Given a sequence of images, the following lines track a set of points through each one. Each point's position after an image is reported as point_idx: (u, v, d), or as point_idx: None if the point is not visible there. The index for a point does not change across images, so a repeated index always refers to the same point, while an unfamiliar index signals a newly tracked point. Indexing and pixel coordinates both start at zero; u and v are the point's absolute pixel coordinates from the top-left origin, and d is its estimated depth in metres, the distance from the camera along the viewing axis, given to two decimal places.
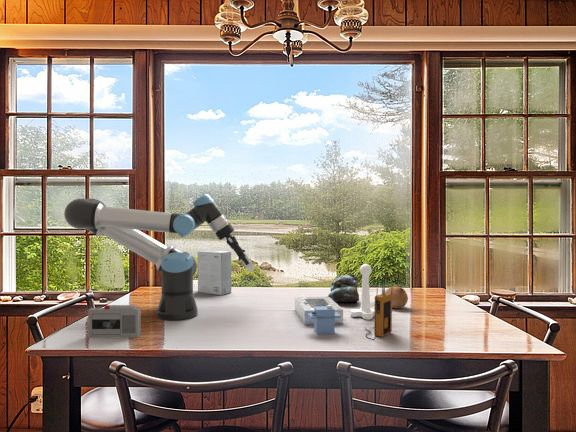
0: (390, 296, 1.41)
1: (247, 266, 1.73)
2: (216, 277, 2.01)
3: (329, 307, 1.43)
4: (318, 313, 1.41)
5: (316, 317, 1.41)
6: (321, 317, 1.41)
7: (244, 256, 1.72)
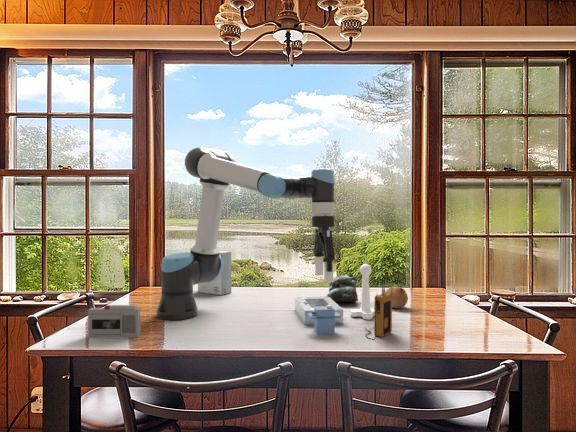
0: (390, 296, 1.41)
1: (327, 273, 1.37)
2: None
3: (329, 307, 1.43)
4: (318, 313, 1.41)
5: (316, 317, 1.41)
6: (321, 317, 1.41)
7: (332, 260, 1.36)
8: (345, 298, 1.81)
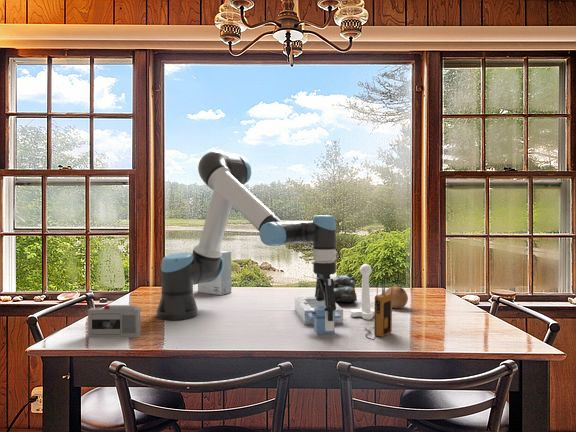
0: (390, 296, 1.41)
1: (327, 322, 1.36)
2: None
3: None
4: (318, 313, 1.41)
5: (316, 317, 1.41)
6: (321, 317, 1.41)
7: (333, 310, 1.35)
8: (344, 298, 1.81)
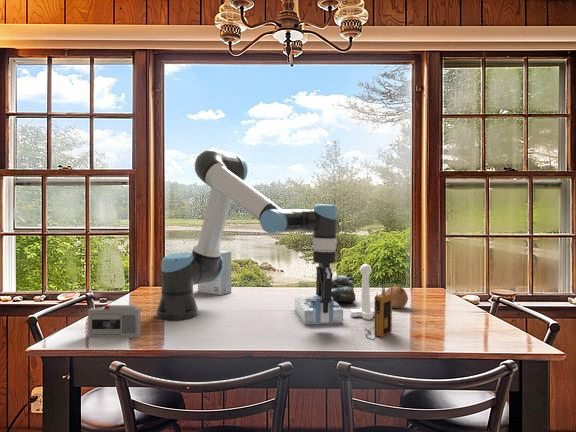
0: (390, 296, 1.41)
1: (323, 314, 1.41)
2: None
3: None
4: (317, 302, 1.41)
5: (315, 306, 1.41)
6: (320, 306, 1.41)
7: (328, 302, 1.40)
8: (343, 298, 1.81)
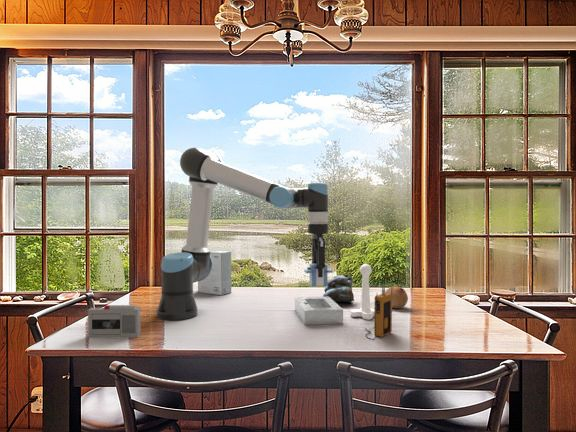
0: (390, 296, 1.41)
1: (318, 278, 1.60)
2: (216, 277, 2.01)
3: None
4: (313, 268, 1.60)
5: (311, 271, 1.60)
6: (315, 271, 1.61)
7: (322, 268, 1.59)
8: (342, 298, 1.81)
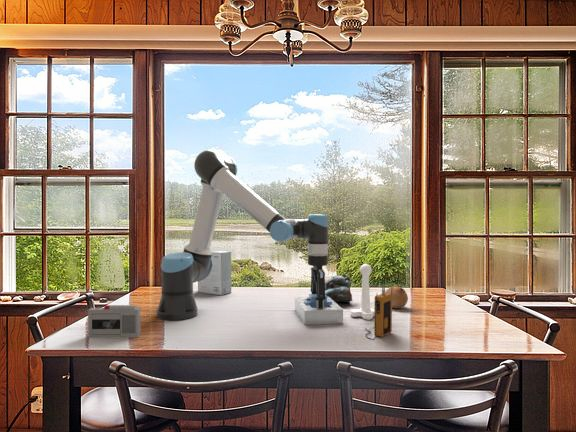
0: (390, 296, 1.41)
1: None
2: (216, 277, 2.01)
3: None
4: (312, 299, 1.61)
5: (310, 303, 1.61)
6: (315, 303, 1.61)
7: (322, 299, 1.58)
8: (340, 298, 1.80)
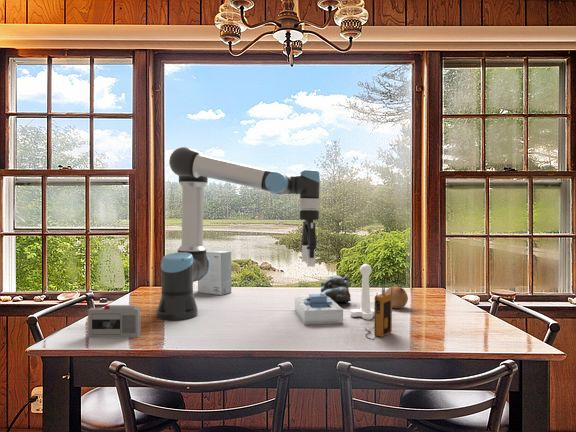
0: (390, 296, 1.41)
1: (309, 259, 1.61)
2: (216, 277, 2.01)
3: (322, 294, 1.63)
4: (312, 299, 1.61)
5: (310, 303, 1.61)
6: (315, 303, 1.61)
7: (314, 248, 1.60)
8: (339, 298, 1.80)
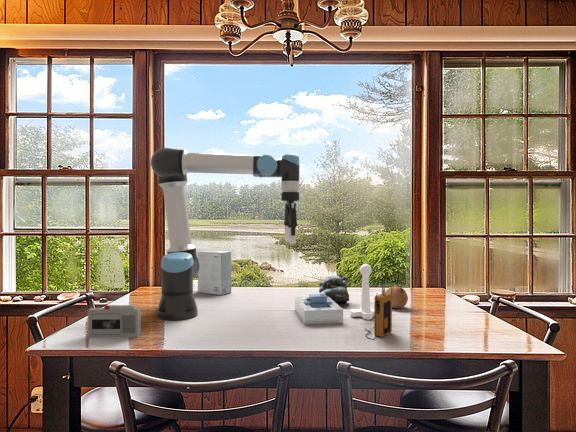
0: (390, 296, 1.41)
1: (291, 237, 1.72)
2: (216, 277, 2.01)
3: (322, 294, 1.63)
4: (312, 299, 1.61)
5: (310, 303, 1.61)
6: (315, 303, 1.61)
7: (295, 226, 1.71)
8: (337, 299, 1.80)
